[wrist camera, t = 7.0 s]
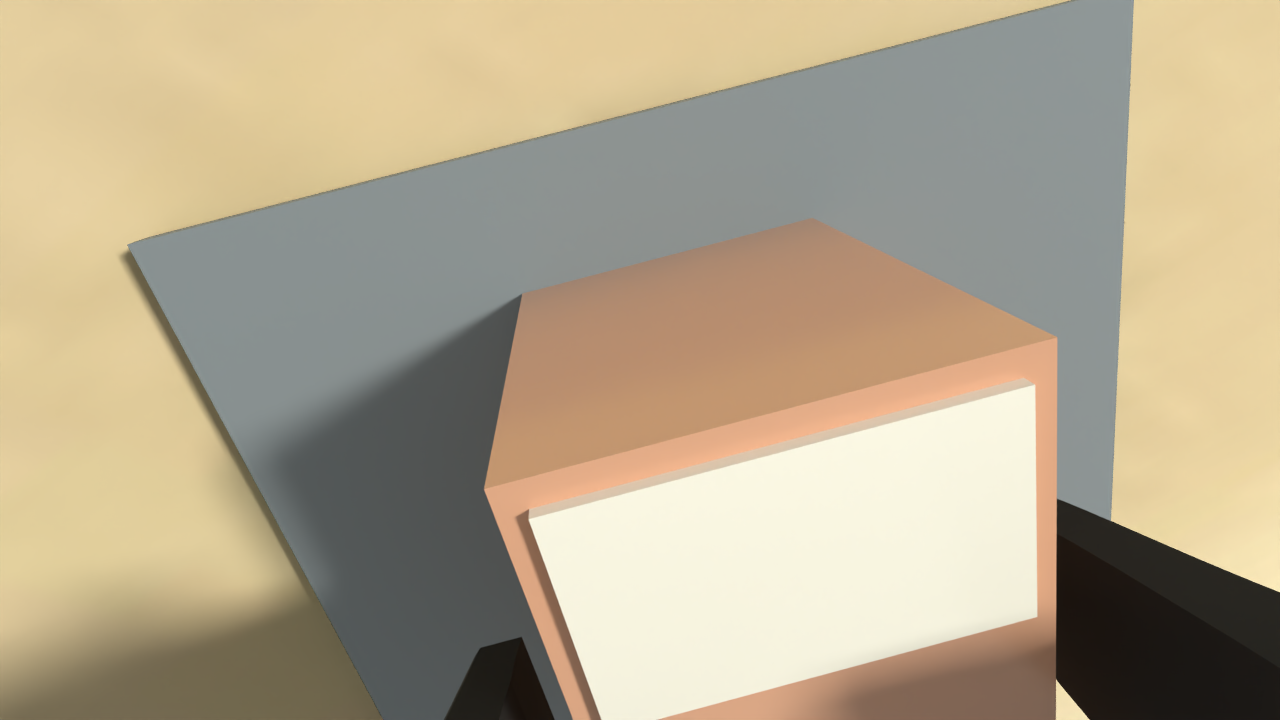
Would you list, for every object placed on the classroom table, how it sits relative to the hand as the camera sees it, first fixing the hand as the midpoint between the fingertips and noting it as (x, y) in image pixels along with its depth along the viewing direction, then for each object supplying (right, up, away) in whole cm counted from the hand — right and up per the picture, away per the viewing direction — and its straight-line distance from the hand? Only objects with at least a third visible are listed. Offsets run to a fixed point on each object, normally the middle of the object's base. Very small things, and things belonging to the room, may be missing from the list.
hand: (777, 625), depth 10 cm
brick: (-1, +2, +3) cm, 4 cm away
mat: (-1, +2, +4) cm, 4 cm away
